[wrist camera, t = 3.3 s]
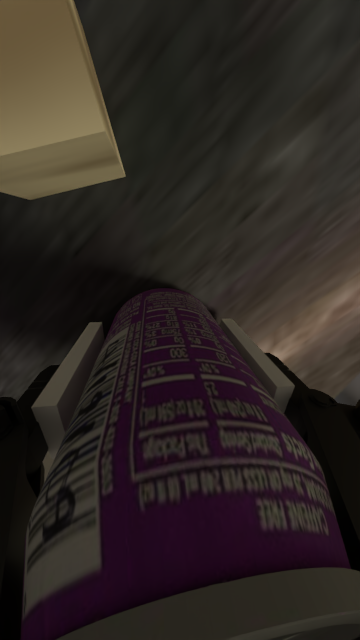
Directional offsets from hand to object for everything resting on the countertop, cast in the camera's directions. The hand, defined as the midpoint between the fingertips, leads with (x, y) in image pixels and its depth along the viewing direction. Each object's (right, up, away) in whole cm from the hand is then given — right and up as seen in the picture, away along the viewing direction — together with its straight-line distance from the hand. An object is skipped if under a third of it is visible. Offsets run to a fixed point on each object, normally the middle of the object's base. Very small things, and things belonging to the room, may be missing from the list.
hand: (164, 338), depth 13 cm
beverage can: (0, 0, +1) cm, 1 cm away
